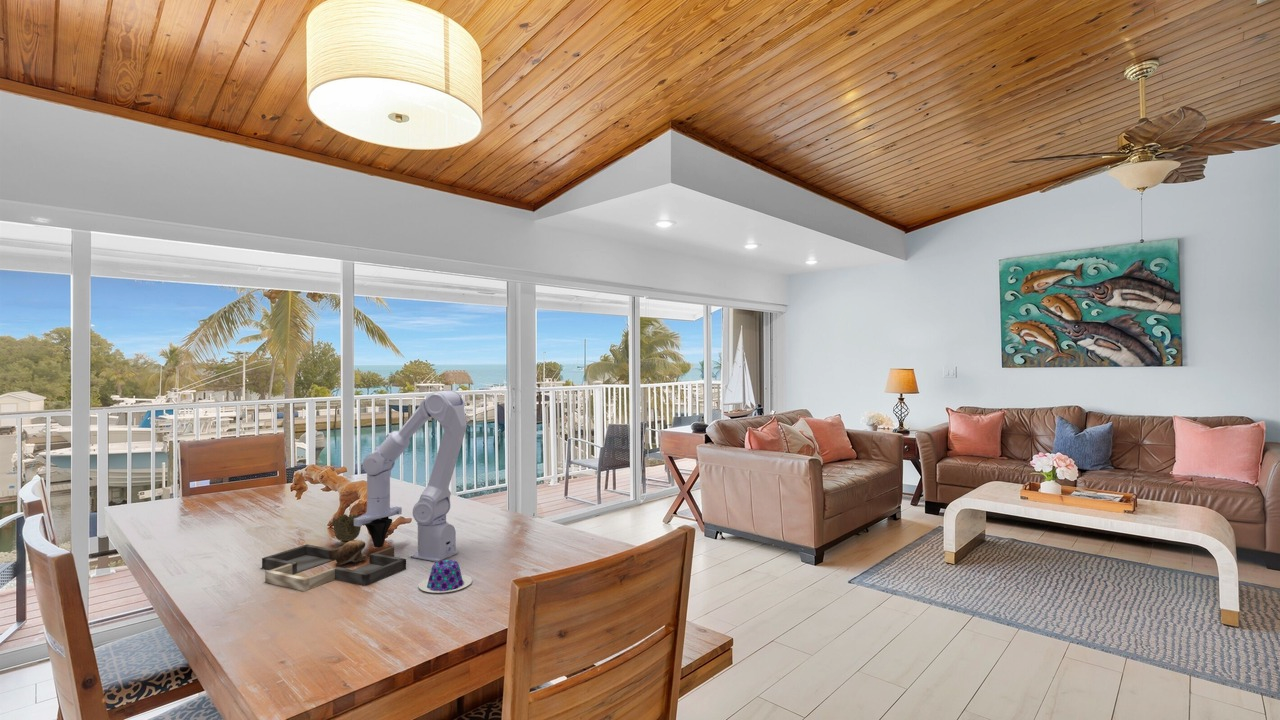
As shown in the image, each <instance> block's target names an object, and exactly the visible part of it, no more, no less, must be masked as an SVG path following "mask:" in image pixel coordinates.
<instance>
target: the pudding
mask: <svg viewBox="0 0 1280 720" xmlns="http://www.w3.org/2000/svg"><path fill="white" fill-rule="evenodd" d="M472 583H473V578H472V577H471V576H470V575H467V574H462V572H461V569H460V564H459V562H458V561H457V560H453V559H446V560H445V559H443V560H440V561H438V562H436V561H435V562H434V564H432V567H431V570H430V574H429V576H428V577H427V578H424V579H423V580H421V581H420V582H419V583H418V585H417V586H418V589H419V590H421V591H424V592H426V593H433V594H434V593H439V594H440V593H449V592H455V591H458V590H462V589H464V588H466V587H468V586H470V585H471V584H472Z"/></svg>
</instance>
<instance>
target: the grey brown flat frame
mask: <svg viewBox="0 0 1280 720" xmlns="http://www.w3.org/2000/svg"><path fill="white" fill-rule="evenodd" d="M341 547H342V546H341V545H340V546H338V547H336V548H330V547H325V546H324V547H323V546H319V545H318V546H316V545H313V544H304V545H301V546H298V547H295V548H291V549H288V550H285V551H284V550H283V551H281V552H278V553H274V554H272V555H268V556H264V557H262V558H261V569H265V570H266V571H264V575H265V578H264V582H265V583H267V584H271V585H276V586H280V587H284V588H288V589H289V588H290V589H292V590H293V589H294V590H297V591H301V592H302V591H303V592H306V591H308V590H312V589H314V588H316V587H319V586H321V585H324V584H327V583H329V582H332V581H336V580H337V581H341V582H347V583H350V584H354V585H359V586H365V587H366V586H368V585H371V584H373V583H376V582H378V581H380V580H383V579H385V578H388V577H390V576H393V575H395V574H398V573H400V572H402V571H404V570H405V571H406V570H407V558H403V557H399V556H398V557H397V556H395V547H394V546H389V547H387V548H384V549H381V550H377V551H375V552H372V553H370V554H369V563H367V564H365V565H362V566H359V567H356V568H354V569H349V568H346V567H345V568H344V567H340V566H334V567H331V568H328V569H326V570H323V571H320V572H318V573H314V574H312V575H309V576H306V577H305V576H304V577H303V576H300V575H296V574H298V573H301V572H304V571H307V570H309V569H313V568H315V567H318V566H321V565H324V564H326V563H330V562H333V561H336V553H337V551H338V550H339V549H340V548H341Z"/></svg>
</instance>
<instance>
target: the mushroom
mask: <svg viewBox="0 0 1280 720" xmlns="http://www.w3.org/2000/svg"><path fill="white" fill-rule="evenodd" d="M340 547H341V546H340ZM364 548H366V542H365V541H363V540H360V539H354V540H351V541H349V542H347V543H345V544H344V545H343V546H342V547H341V548H340V549H339V550H338V551H337V553H336V560H335V562H336V563H337V565H338V566H339V565H340V566H342V565H345V564H346V563H350V562H352V563H359V562H361V561H363V560H365V559H367V557H368V556H367V555H366V554H363V552H362V551H363V550H364Z"/></svg>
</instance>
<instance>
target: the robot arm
mask: <svg viewBox="0 0 1280 720" xmlns="http://www.w3.org/2000/svg"><path fill="white" fill-rule="evenodd" d="M465 406H466V402H465V400H464V398H463V397H462V395H461V394H460V393H459V392H458V391H456V390H452V389H450V390H449V389H448V390H447V391H446V390H445V391H433V392H431V393H429V394H428V395H427V396H426V398H425V399H423V400H422V401H421V402H420V403H419V406H418V407H417V408H416V410H415V411H414V412H413V413H412V414H411V415H410V417H409V418H408V420H407V421H406V422H405V423H404V424H403V426H402V427H401V428H400V429H399V430H394V431H392V432H388V433H387V434H386V435H385V436H384V437H385V439H384V440H383V442H381V444H380V445H378V446H376V447H375V448H374V450H375V451H374V452H370V453H368V454H366V455H365V456H364V458H363V459H362V460H363V461H362V469H363V471H364V472H365V474H367V475H366V511H365V513H364V514H361V516H360V515H359V516H360V517H357V518H354V526H358V527H360V526H361V527H362V526H363V525H364V526H365V527H366V529H367V530H368V533H369V534H370V537H371V539H372V540H371V541H372V544H373V547H374V548H383V547H384V545H385V540H386V536H387V533H388V531H389V529H390V527H391V525H392V523H393V518H390V517H393V516H396V515H398V516H399V515H402V510H403V508H402V506H396V505H395V506H393V507H391V472H392V470H393V468H394V467H395V462H396V460H397V459H398V458H399V457H400V456H401V455H402V454H403V453H404V452H405V451H406V450H407V448H408V447H409V446H410V443H411V441H410V439H411V438H412V436H413V435H415V434H416V433H417V432H418V430H419V429H421V427H423V426H424V424H425V423H427V422H428V421H429V420H430V419H432V418H433V419H434V420H436V421H437V422H438V423H439V424H440V425H441V427H442V428H443V434H442V436H441V441H440V444H439V446H438V451H437V453H436V457H435V460H434V464H433V467H432V470H431V473H430V477H429V480H428V483H427V485H426V488H424V490H423V491H422V493H421V494H420V497H419V499H418V501H417V502H416V503H415V504H414V505H413V507H412V517H413V519H414V520H415V521H416V523H417V552H415V553H413V554H410V556H409V557H410V558H415V559H420V560H424V561H431V562H435V563H436V562H440V561H443V560H445V559H447V558H450V557H452V556H455V555H457V554H458V551H457V550H456V549H457V548H456V543H457V540H456V539H457V537H456V528H455V526H454V525H452V524H450V523H449V522H447V514H448V513H449V512H450V509H451V496H452V492H451V491H450V489H449V487H450V484H451V481H452V478H453V474H454V471H455V467H456V464H457V462H458V457H459V454H460V451H461V447H462V444H463V441H464V438H465V434H466V431H467V425H468V423H467V419H466V413H465V412H466V411H465Z"/></svg>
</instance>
